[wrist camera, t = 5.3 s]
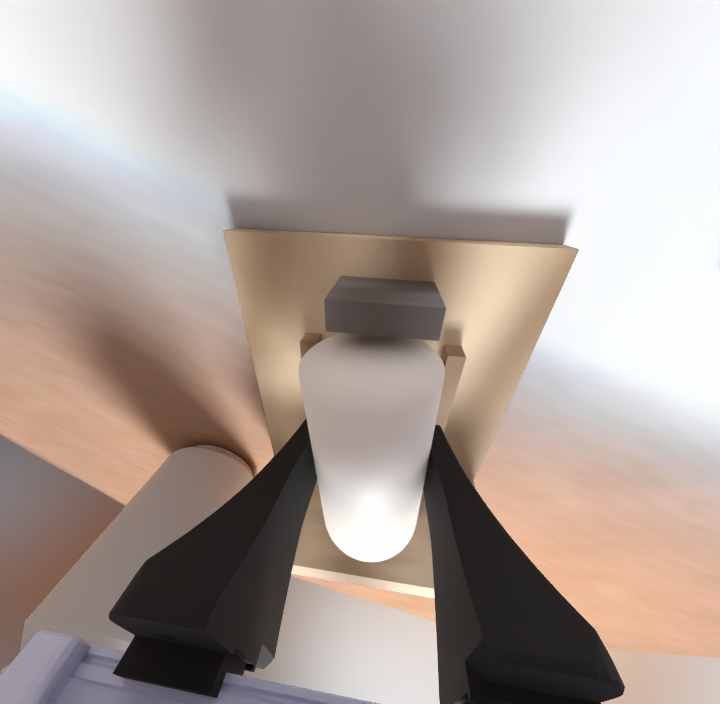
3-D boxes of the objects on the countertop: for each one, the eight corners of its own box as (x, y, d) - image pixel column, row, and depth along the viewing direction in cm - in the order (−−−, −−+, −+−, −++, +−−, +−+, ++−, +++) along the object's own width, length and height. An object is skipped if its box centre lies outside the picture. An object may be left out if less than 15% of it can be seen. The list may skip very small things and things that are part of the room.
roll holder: (564, 244, 10) (791, 310, 4) (465, 478, 19) (497, 608, 13) (236, 228, 12) (65, 261, 6) (281, 454, 20) (233, 563, 14)
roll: (434, 332, 10) (459, 420, 6) (414, 468, 15) (420, 569, 11) (319, 327, 11) (273, 406, 7) (334, 460, 16) (312, 554, 11)
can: (158, 441, 21) (-63, 668, 11) (235, 434, 19) (56, 696, 9) (207, 493, 25) (74, 701, 15) (275, 491, 23) (179, 725, 13)
